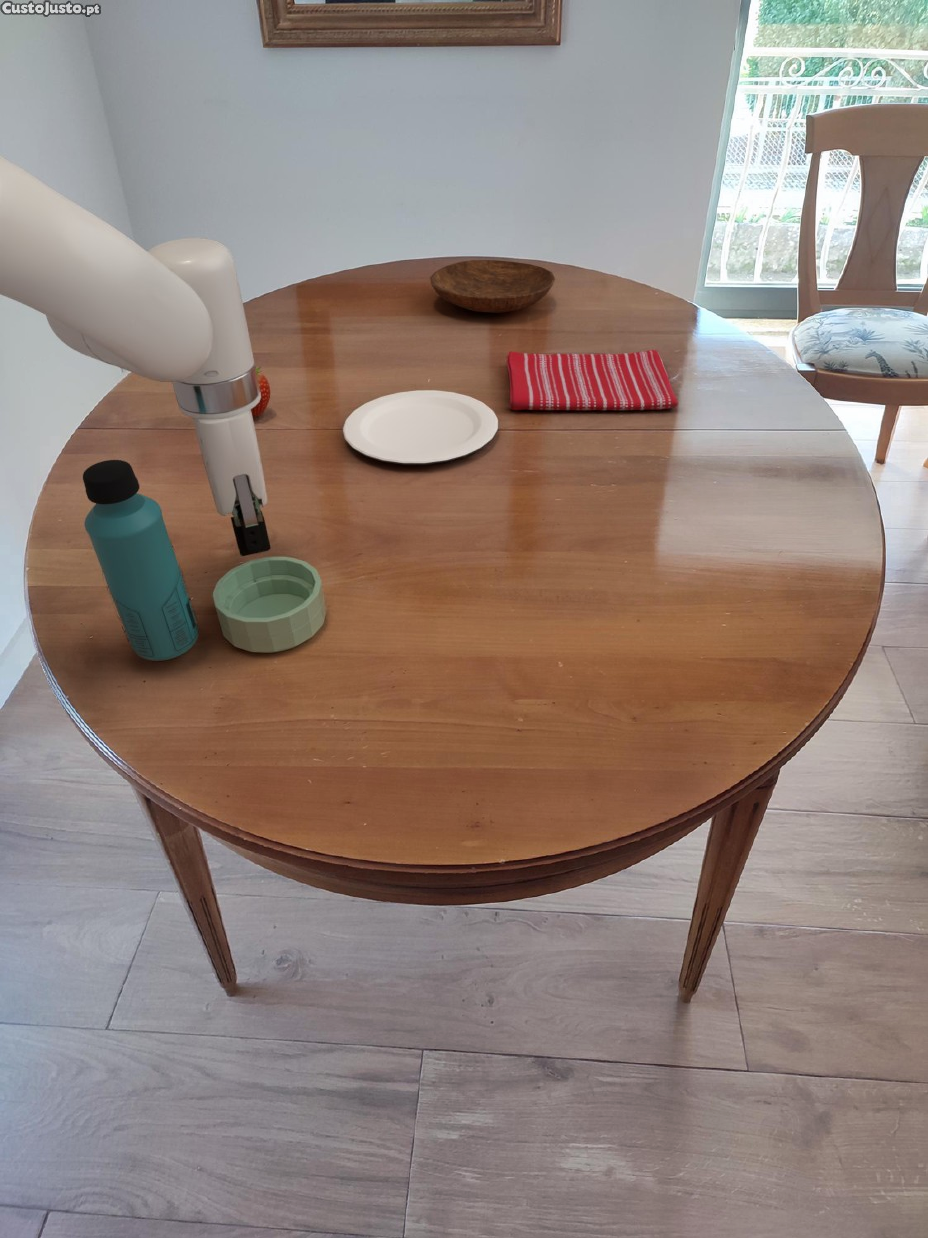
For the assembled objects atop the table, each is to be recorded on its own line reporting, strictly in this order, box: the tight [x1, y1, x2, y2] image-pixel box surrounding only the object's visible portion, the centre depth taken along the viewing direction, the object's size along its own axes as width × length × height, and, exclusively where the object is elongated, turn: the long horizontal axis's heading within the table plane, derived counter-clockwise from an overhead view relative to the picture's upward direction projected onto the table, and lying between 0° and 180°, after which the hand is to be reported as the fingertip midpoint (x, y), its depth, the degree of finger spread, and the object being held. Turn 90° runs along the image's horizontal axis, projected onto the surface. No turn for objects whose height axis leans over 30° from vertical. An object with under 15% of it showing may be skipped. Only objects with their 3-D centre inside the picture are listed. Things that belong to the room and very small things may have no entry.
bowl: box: [429, 259, 556, 314], centre depth 148 cm, size 20×22×5 cm
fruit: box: [251, 366, 271, 419], centre depth 116 cm, size 5×5×8 cm
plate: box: [342, 389, 499, 466], centre depth 113 cm, size 21×21×2 cm
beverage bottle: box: [82, 459, 200, 662], centre depth 74 cm, size 6×7×20 cm
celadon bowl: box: [212, 556, 327, 654], centre depth 82 cm, size 10×10×4 cm
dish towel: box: [506, 349, 679, 411], centre depth 122 cm, size 17×24×3 cm
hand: (254, 549), depth 89 cm, fingers closed
